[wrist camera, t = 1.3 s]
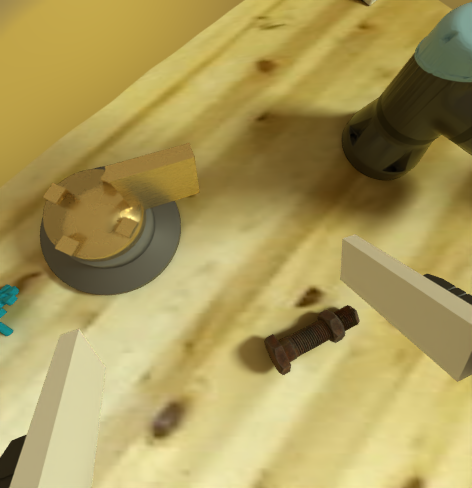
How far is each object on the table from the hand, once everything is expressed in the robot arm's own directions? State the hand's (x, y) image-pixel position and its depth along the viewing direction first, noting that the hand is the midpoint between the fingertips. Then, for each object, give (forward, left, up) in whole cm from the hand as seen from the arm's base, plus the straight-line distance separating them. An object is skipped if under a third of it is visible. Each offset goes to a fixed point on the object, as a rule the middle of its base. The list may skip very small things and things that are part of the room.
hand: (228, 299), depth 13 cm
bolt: (-7, +14, -31) cm, 35 cm away
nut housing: (+3, -22, -31) cm, 38 cm away
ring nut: (-1, -20, -26) cm, 32 cm away
